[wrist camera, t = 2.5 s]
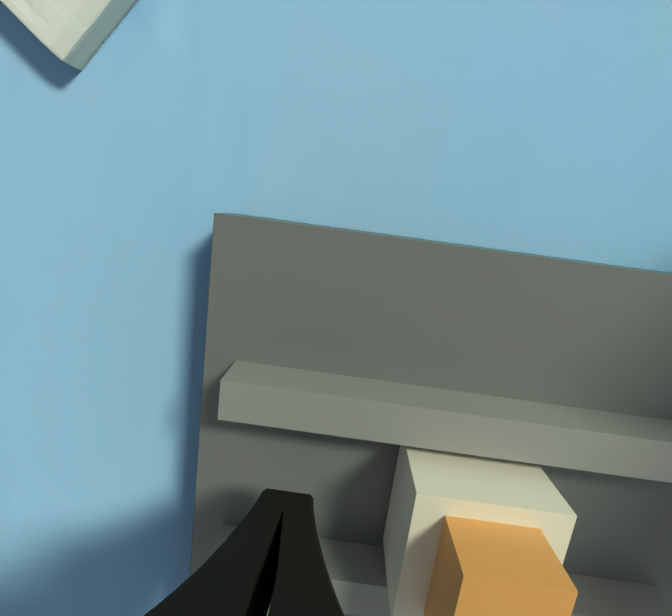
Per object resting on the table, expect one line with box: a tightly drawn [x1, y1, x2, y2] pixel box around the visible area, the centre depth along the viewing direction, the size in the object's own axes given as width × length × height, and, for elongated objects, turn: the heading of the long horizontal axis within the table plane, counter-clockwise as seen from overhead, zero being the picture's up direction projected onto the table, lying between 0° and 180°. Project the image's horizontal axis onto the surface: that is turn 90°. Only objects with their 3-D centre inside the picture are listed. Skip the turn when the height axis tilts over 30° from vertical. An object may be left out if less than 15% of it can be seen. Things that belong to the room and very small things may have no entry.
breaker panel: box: [190, 213, 672, 616], centre depth 14 cm, size 17×16×4 cm
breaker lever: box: [383, 445, 578, 616], centre depth 11 cm, size 4×4×5 cm
